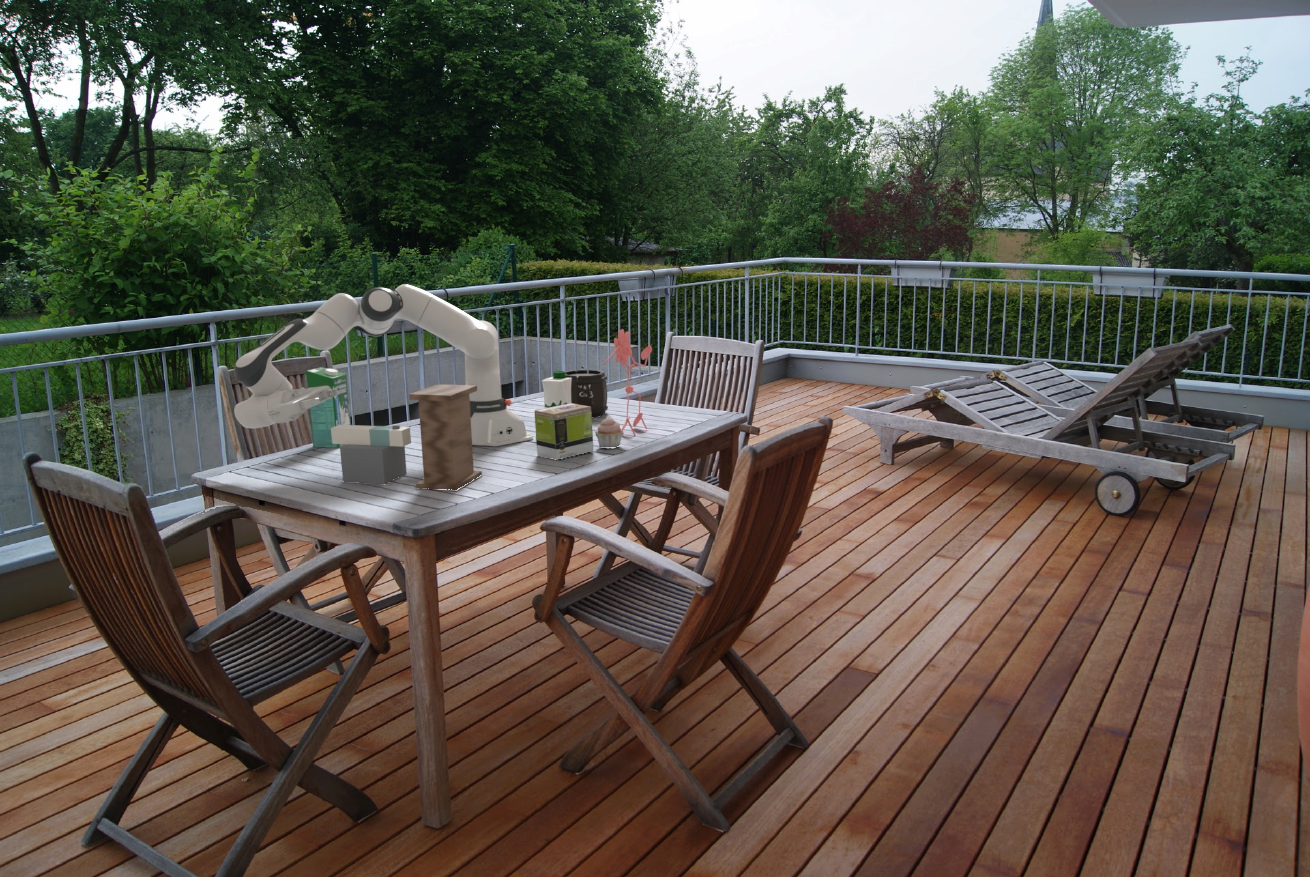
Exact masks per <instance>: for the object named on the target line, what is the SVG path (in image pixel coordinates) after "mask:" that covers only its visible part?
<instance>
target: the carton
mask: <svg viewBox="0 0 1310 877" xmlns="http://www.w3.org/2000/svg"><path fill="white" fill-rule="evenodd" d="M331 435H332V444H346V445H347V444H352V445H371V446H400V447H403V446H405V447H406V446H408V445H410V444H412V438H411V437H412V436H411V435H412V434H411V427H409V426H400V425H399V424H392V426H390V425H359V424H358V425H355V424H353V425H352V424H351V425H338V426H335V427H332V428H331Z"/></svg>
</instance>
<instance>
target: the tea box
mask: <svg viewBox="0 0 1310 877" xmlns="http://www.w3.org/2000/svg"><path fill="white" fill-rule="evenodd" d="M534 425H535V427H534V428H535V441H536V442H535V444H536V454H537V457H539V456H542V457H541V458H543V457H546V458H545V459H547V458H553V459H556V460H557V461H559V460H558V459H561V458H565V459H567V458H566V457H569V458H571V457H570V456H573V457H576V456H575V455H578V454H582V455H585V454H584V453H586V452H589V451H593V452H594V451H595V450H594V436H593V433H594V432H593V430H594V429H593V418H592V413H591V407H590V406H584V405H578V404H572V403H569V404H564V405H559V406H554V407H549V408H544V407H543V408H540V409H535V410H534ZM586 454H587V453H586ZM578 456H579V455H578ZM556 460H555V461H556ZM561 460H562V459H561Z"/></svg>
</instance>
